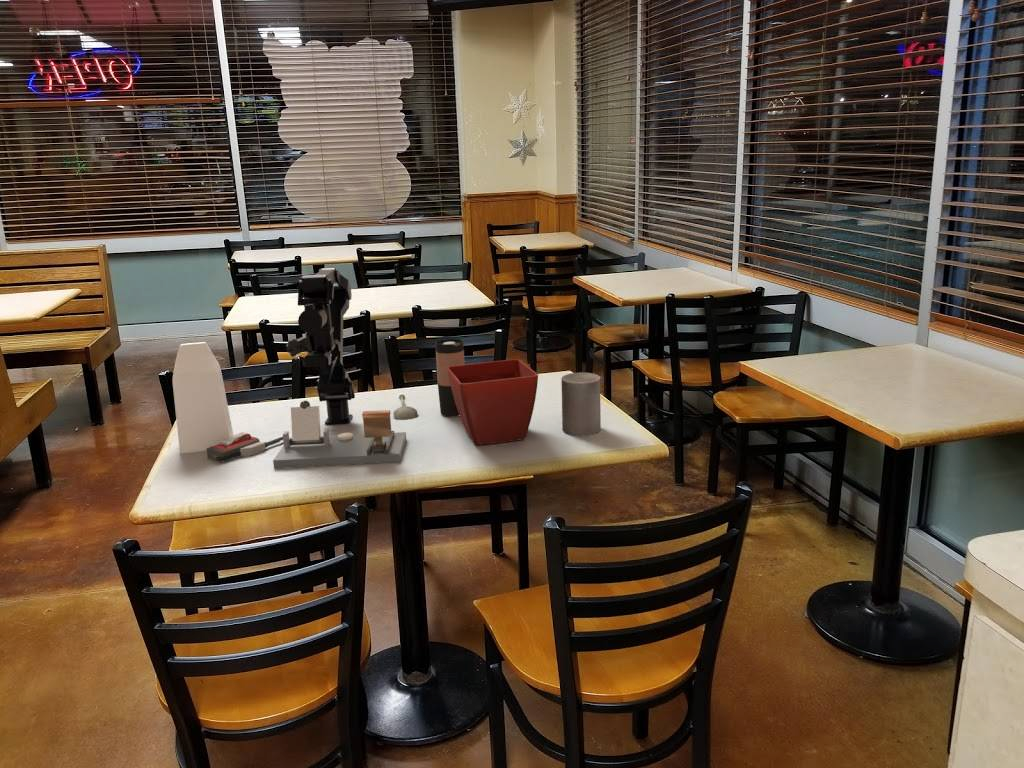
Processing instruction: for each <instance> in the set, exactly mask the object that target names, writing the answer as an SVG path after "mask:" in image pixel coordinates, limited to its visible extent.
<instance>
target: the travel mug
mask: <svg viewBox="0 0 1024 768" xmlns="http://www.w3.org/2000/svg"><path fill="white" fill-rule="evenodd" d="M434 345H435V346H434V347H435V359H436V379H437V390H438V400H439V408H440V409H439V410H440V411H439V412H440V415H441V416H442V417H451V416H455V417H460V416H459V413H458V410H457V406H456V403H455V400H454V396H453V393H452V389H451V385H450V381H449V376H448V371H447V367H449V366H457V365H465V364H466V363H465V350H464V341H463V339H460V338H444V339H439V340H436V341H435V344H434ZM451 418H452V417H451Z"/></svg>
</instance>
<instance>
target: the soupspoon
mask: <svg viewBox="0 0 1024 768" xmlns="http://www.w3.org/2000/svg"><path fill="white" fill-rule="evenodd" d="M398 398H399V400H400V403H401V407H398V408H397V409H395V410H393V412H392V414H393V418H394V419H396V420H397V421H406V420H408V419H409V420H414V419H416V418H417V417H418V411H417V409H416V408H414V407H412V406H406V403H405V401H404V400H405V399H406V396H405V394H399V396H398Z"/></svg>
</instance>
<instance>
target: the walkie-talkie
mask: <svg viewBox="0 0 1024 768" xmlns="http://www.w3.org/2000/svg"><path fill="white" fill-rule="evenodd" d="M281 441H283V436H281V437H278V438H275V439H272V440H269V441H266V442H262V441H260V439H259V438H258V437H255V436H251V434H249V433H248V432H240V433H237V434H233V436H230V438H229V439H228V440H227V441H220V444H218V445H215V446H212V447H209V448H207V451H206V455H207V459H208V460H211V461H212V460H213V461H216V462H219V463H226V462H229V461H230V460H234V459H236V458H239V457H248V455H249V456H253V455H256V454H258V453H261V451H262V452H264V450H265V451H266V450H267V449H266V448H268V447H269V446H273V445H276V444H278V443H280V442H281ZM233 458H234V459H233Z"/></svg>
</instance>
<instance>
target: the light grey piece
mask: <svg viewBox="0 0 1024 768" xmlns="http://www.w3.org/2000/svg"><path fill="white" fill-rule="evenodd" d="M320 414H321V413H320V405H314V406H313V405H312V406H311V404H310V401H308V400H302V401H301V402H300V403H299V406H294V407H293V406H291V407H290V416H291V417H290V418H291V421H290V422H291V436H292V437H291V438H292V439H289V444H290V445H310V444H324V437H321V436H322V434H321V417H320V416H321V415H320Z"/></svg>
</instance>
